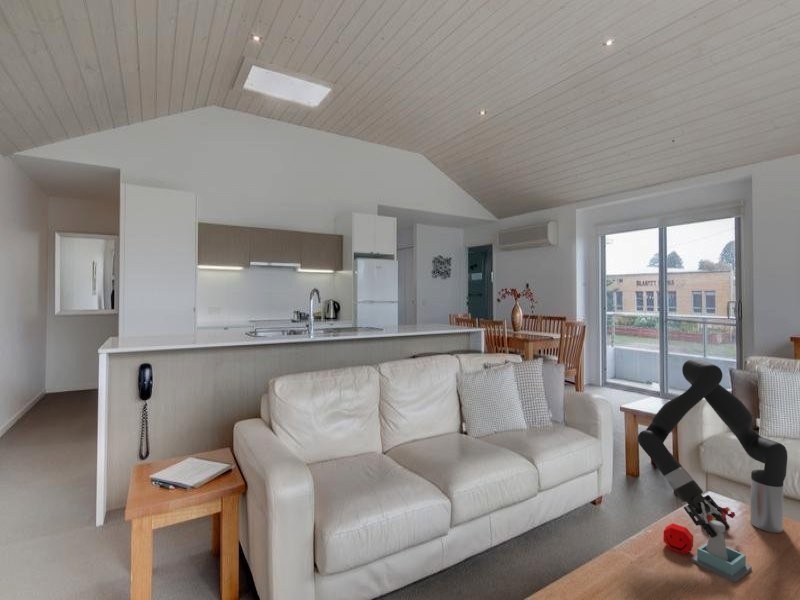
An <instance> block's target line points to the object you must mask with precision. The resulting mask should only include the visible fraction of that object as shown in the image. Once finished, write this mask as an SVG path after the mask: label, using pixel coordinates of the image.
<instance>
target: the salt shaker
mask: <svg viewBox="0 0 800 600" xmlns="http://www.w3.org/2000/svg"><path fill="white" fill-rule="evenodd" d="M709 524H710V525H711V526H712V528H713V529H714V530H715V532H716V533H717V536H716V537H713V538H711V537H710V535H709V534H708V538H707V539H708V540H707V542H708V543H707V542H706V543H707V547H706V551H707V552H709V553H711V554H713V555H715V556H717V557H719V558H722V559H724V560H726V561H727V560H728V556H727V551H726V547H727V546H726V541H725V535H724V533H725V532H726V530H725V525H724V524H723V523H721V522H719V521H716V520H711V521H709Z"/></svg>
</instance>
